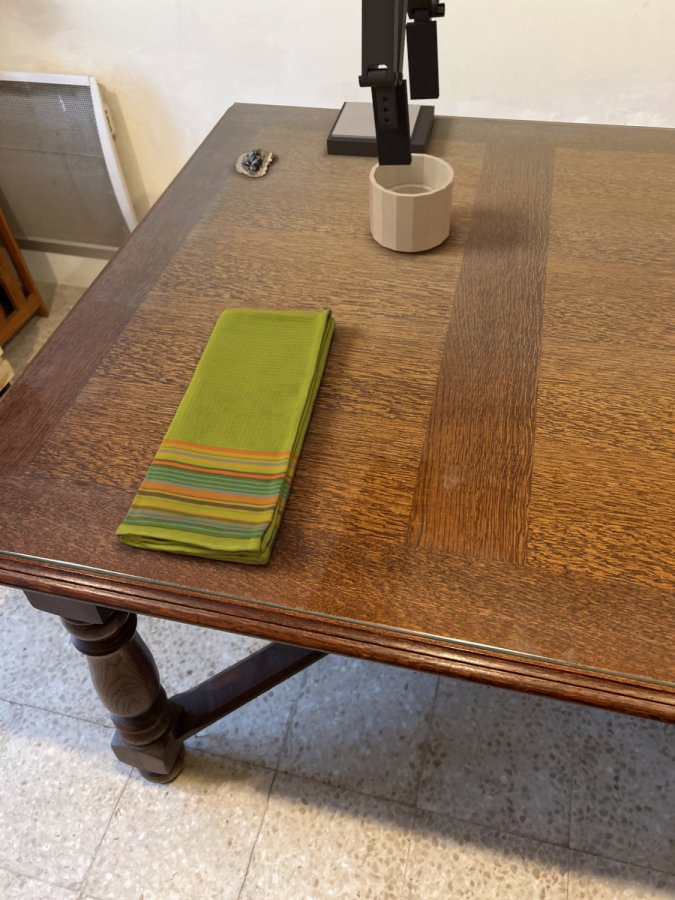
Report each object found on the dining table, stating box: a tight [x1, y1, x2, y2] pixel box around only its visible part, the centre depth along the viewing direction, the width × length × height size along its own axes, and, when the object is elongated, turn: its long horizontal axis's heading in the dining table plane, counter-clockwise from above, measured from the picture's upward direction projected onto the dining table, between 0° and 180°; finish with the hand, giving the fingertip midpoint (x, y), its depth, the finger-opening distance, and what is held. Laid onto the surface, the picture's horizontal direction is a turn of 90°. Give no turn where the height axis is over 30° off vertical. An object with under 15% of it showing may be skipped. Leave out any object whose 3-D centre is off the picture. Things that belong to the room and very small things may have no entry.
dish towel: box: [115, 307, 336, 565], centre depth 78 cm, size 15×36×3 cm, turn 169°
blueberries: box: [235, 148, 275, 179], centre depth 116 cm, size 7×8×2 cm
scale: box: [326, 101, 436, 158], centre depth 120 cm, size 16×14×3 cm
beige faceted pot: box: [368, 153, 455, 253], centre depth 99 cm, size 11×11×9 cm
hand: (411, 128), depth 64 cm, fingers open, 13 cm apart
